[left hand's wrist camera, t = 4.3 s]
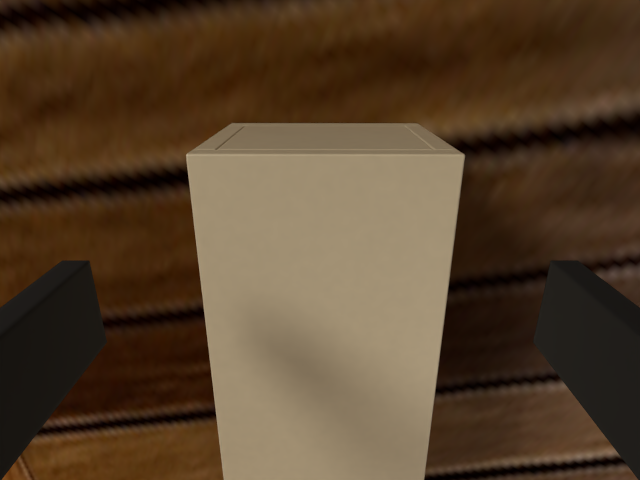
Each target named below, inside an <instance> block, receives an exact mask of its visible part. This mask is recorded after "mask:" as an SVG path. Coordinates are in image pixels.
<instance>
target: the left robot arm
mask: <svg viewBox="0 0 640 480" xmlns="http://www.w3.org/2000/svg"><path fill="white" fill-rule="evenodd" d="M106 343H107V340H106V336H105V331H104V327H103V322H102V317H101V313H100V308H99V303H98V299H97V294H96V290H95V285H94V280H93V276H92V271H91V267H90V262H89V261H61V262H60V263H59V264H57V265H56V266H55V267H53V268H52V269H51V270H49V271H48V272H47V273H45V274H44V275H43V276H42V277H40V278H39V279H38V280H36V281H35V282H34V283H32V284H31V285H30V286H28V287H27V288H26V289H24V290H23V291H22V292H21V293H19V294H18V295H17V296H15V297H14V298H13V299H11V300H10V301H9V302H7V303H6V304H5V305H3V306H2V307H1V308H0V480H2V478H3V477H4V476H5V474H6V473H7V472H8V470H9V469H10V468H11V466H12V465H13V464H14V463H15V461H16V460H17V459H18V457H19V456H20V455H21V453H22V452H23V451H24V450H25V448H26V447H27V446H28V444H29V443H30V442H31V440H32V439H33V438H34V437H35V435H36V434H37V433H38V431H39V430H40V429H41V427H42V426H43V425H44V423H45V422H46V421H47V420H48V418H49V417H50V416H51V414H52V413H53V412H54V410H55V409H56V408H57V407H58V405H59V404H60V403H61V401H62V400H63V399H64V397H65V396H66V395H67V394H68V392H69V391H70V390H71V388H72V387H73V386H74V384H75V383H76V382H77V380H78V379H79V378H80V377H81V375H82V374H83V373H84V371H85V370H86V369H87V367H88V366H89V365H90V364H91V362H92V361H93V360H94V358H95V357H96V356H97V354H98V353H99V352H100V351H101V349H102V348H103V347H104V345H105V344H106ZM533 343H534V344H535V345H536V347H537V348H538V349H539V351H540V352H541V353H542V354H543V356H544V357H545V358H546V360H547V361H548V362H549V364H550V365H551V366H552V367H553V369H554V370H555V371H556V373H557V374H558V375H559V377H560V378H561V379H562V380H563V382H564V383H565V384H566V386H567V387H568V388H569V390H570V391H571V392H572V394H573V395H574V396H575V397H576V399H577V400H578V401H579V403H580V404H581V405H582V407H583V408H584V409H585V410H586V412H587V413H588V414H589V416H590V417H591V418H592V420H593V421H594V422H595V423H596V425H597V426H598V427H599V429H600V430H601V431H602V433H603V434H604V435H605V437H606V438H607V439H608V440H609V442H610V443H611V444H612V446H613V447H614V448H615V450H616V451H617V452H618V453H619V455H620V456H621V457H622V459H623V460H624V461H625V463H626V464H627V465H628V466H629V468H630V469H631V470H632V472H633V473H634V474H635V476H636V477H637V478H638V480H640V308H639V307H638V306H637V305H635V304H634V303H633V302H631V301H630V300H629V299H627V298H626V297H625V296H623V295H622V294H621V293H619V292H618V291H617V290H616V289H614V288H613V287H612V286H610V285H609V284H608V283H606V282H605V281H604V280H602V279H601V278H600V277H598V276H597V275H596V274H595V273H593V272H592V271H591V270H589V269H588V268H587V267H585V266H584V265H583V264H581V263H580V262H579V261H551V262H550V267H549V271H548V276H547V280H546V285H545V290H544V294H543V299H542V303H541V308H540V313H539V317H538V322H537V327H536V331H535V336H534V340H533Z"/></svg>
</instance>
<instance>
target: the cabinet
mask: <svg viewBox="0 0 640 480" xmlns="http://www.w3.org/2000/svg"><path fill="white" fill-rule="evenodd" d="M186 159H187V168H188V176H189V185H190V193H191V202H192V211H193V219H194V228H195V236H196V245H197V253H198V262H199V271H200V279H201V288H202V296H203V305H204V313H205V322H206V331H207V339H208V348H209V356H210V365H211V373H212V382H213V390H214V399H215V408H216V416H217V425H218V433H219V442H220V450H221V459H222V468H223V476H224V480H424V476H425V468H426V460H427V452H428V445H429V437H430V429H431V421H432V413H433V405H434V397H435V389H436V381H437V373H438V365H439V358H440V350H441V342H442V334H443V326H444V318H445V310H446V302H447V294H448V286H449V278H450V270H451V263H452V255H453V247H454V239H455V231H456V223H457V215H458V207H459V199H460V191H461V183H462V175H463V168H464V160H465V155H464V154H463V153H461V152H460V151H458V150H457V149H455V148H454V147H452V146H451V145H449V144H448V143H446V142H445V141H443V140H442V139H440V138H439V137H437V136H436V135H434V134H433V133H431V132H430V131H428V130H427V129H425V128H424V127H422V126H421V125H419V124H417V123H232V124H230V125H229V126H227V127H226V128H224V129H223V130H221V131H220V132H218V133H217V134H215V135H214V136H212V137H211V138H210V139H208V140H207V141H205V142H204V143H202V144H201V145H199V146H198V147H196V148H195V149H194V150H192V151H191V152H189V153H188V154H187V155H186Z"/></svg>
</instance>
